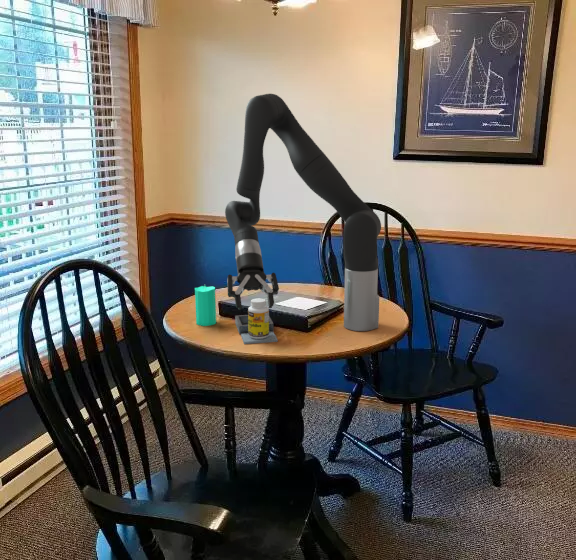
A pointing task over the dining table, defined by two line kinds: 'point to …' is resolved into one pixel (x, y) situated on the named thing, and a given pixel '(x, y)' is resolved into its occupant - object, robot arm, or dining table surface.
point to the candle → (205, 306)
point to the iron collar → (244, 320)
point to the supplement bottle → (258, 319)
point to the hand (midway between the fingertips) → (255, 307)
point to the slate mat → (249, 340)
